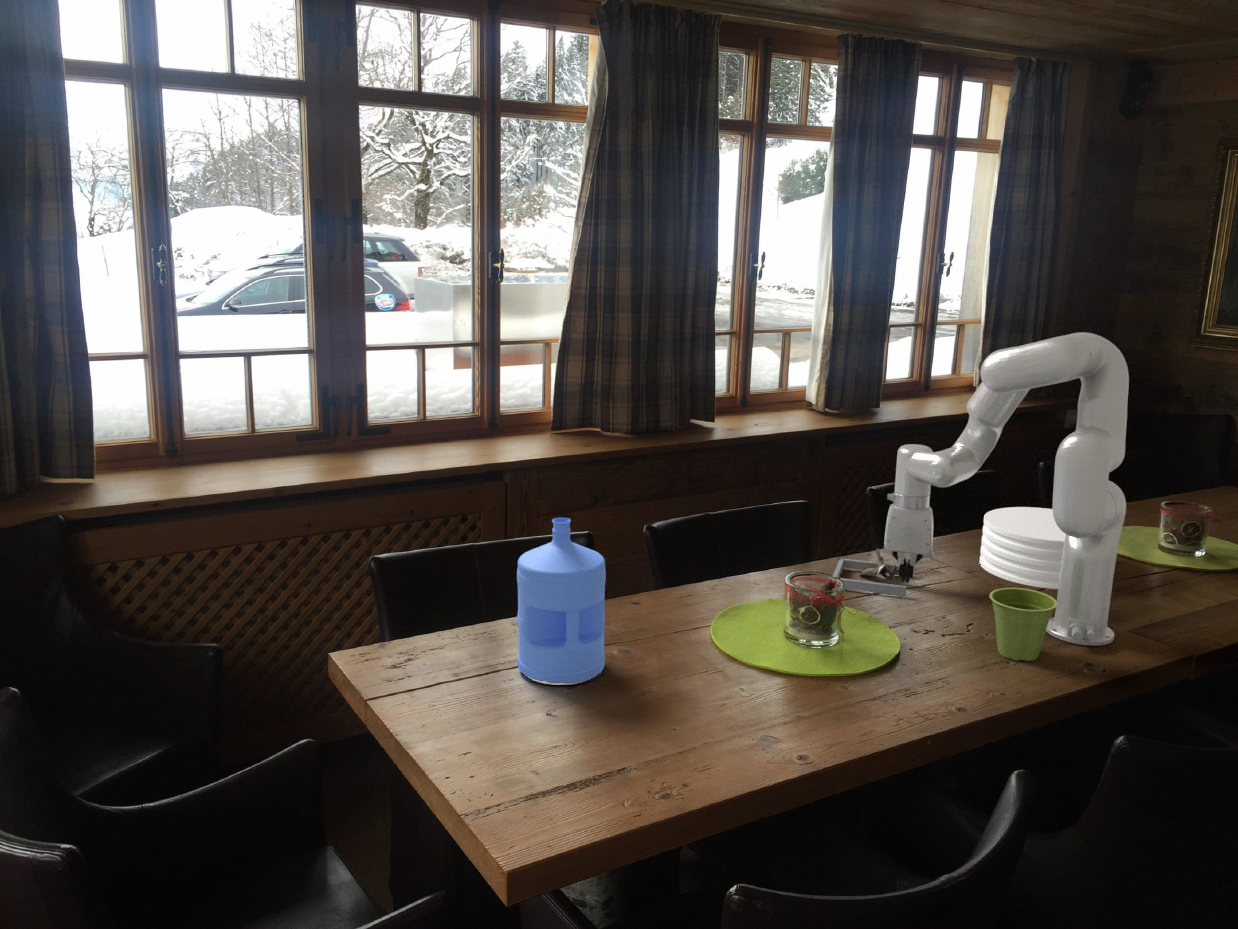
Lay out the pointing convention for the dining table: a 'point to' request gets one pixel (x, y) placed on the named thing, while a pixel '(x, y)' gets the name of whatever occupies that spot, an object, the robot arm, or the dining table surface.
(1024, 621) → the plant pot
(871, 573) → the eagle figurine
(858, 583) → the gray frame
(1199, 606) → the dining table surface
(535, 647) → the water jug
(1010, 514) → the plate stack
